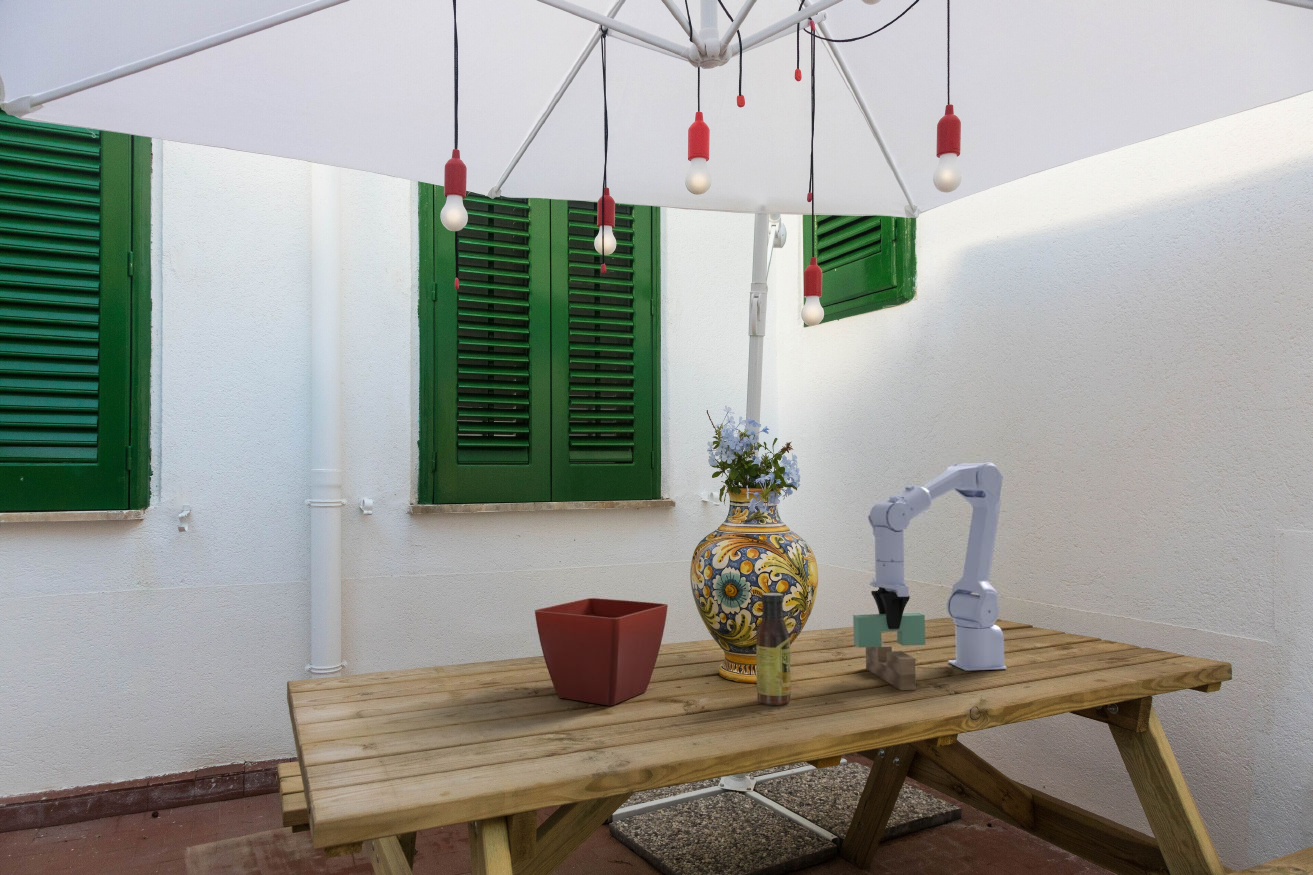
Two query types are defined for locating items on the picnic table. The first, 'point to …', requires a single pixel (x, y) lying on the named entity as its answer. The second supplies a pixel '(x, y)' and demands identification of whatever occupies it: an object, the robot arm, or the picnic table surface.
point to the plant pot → (601, 647)
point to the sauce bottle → (773, 653)
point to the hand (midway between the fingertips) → (890, 627)
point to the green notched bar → (874, 624)
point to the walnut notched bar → (892, 666)
